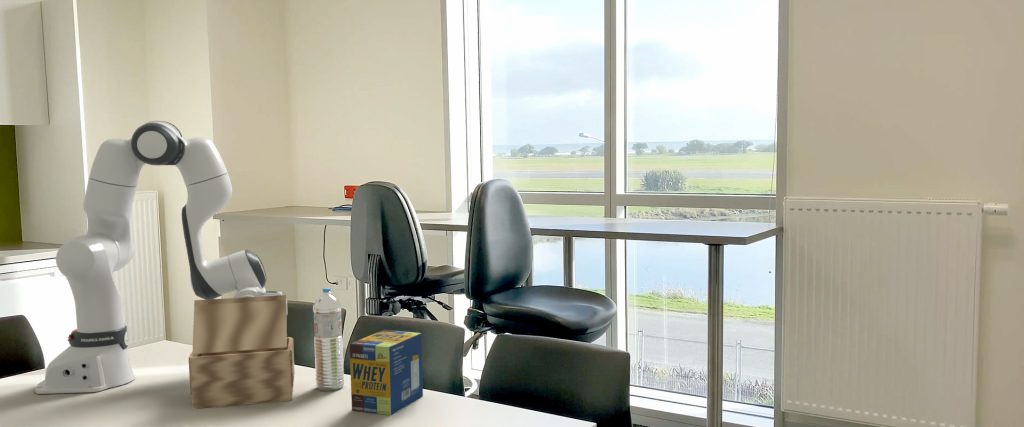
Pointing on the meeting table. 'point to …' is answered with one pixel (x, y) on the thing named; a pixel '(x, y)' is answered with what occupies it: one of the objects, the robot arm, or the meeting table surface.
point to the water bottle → (328, 342)
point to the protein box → (386, 371)
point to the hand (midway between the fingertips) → (244, 315)
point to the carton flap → (239, 324)
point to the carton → (242, 377)
